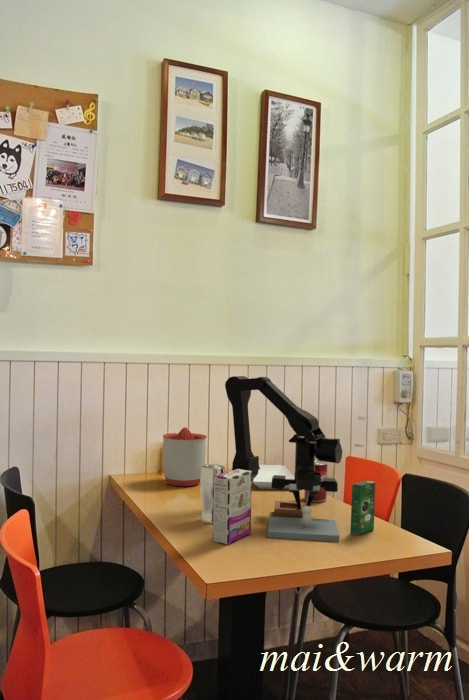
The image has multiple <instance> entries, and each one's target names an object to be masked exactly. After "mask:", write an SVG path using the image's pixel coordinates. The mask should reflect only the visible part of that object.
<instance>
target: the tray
mask: <svg viewBox="0 0 469 700" xmlns="http://www.w3.org/2000/svg"><path fill="white" fill-rule="evenodd" d="M259 467H260V469H259V470H258V475H257V476H256V477H255V478H254V479H253V482H252V484H254V485H255V486H256V487H257V488H258V489H261V490H265V489H266V490H269V489H270V490H274V489H275V488H272V477H273V476H274V475H282V476H286V479H294V477H295V475H293V474H292V473H291V472H290V471H289V469H287V467H286V466H285V465H278V464H259ZM283 489H284V490H289V486H286V485H285V487H284V488H283ZM283 489H282V490H283ZM275 490H276V489H275Z"/></svg>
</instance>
